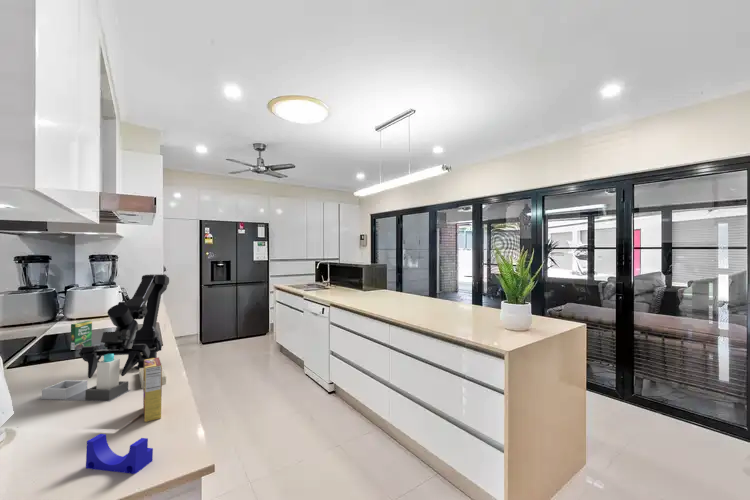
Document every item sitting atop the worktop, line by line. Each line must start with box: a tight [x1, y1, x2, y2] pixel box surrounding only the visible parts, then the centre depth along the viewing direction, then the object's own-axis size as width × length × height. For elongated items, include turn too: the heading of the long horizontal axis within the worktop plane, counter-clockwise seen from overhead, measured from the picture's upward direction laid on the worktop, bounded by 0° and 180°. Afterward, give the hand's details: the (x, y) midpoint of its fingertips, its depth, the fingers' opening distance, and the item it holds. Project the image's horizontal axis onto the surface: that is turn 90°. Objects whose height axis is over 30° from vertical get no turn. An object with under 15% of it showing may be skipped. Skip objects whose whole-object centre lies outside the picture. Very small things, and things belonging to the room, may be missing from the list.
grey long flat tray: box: [36, 379, 132, 403], centre depth 105 cm, size 9×23×4 cm, turn 89°
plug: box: [95, 353, 121, 390], centre depth 106 cm, size 4×4×13 cm
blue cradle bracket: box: [85, 433, 154, 475], centre depth 72 cm, size 12×4×6 cm, turn 82°
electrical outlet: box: [138, 367, 167, 389], centre depth 120 cm, size 7×4×18 cm
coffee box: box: [69, 320, 93, 351], centre depth 159 cm, size 8×3×13 cm, turn 169°
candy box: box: [142, 357, 163, 423], centre depth 95 cm, size 9×4×15 cm, turn 37°
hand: (105, 376), depth 104 cm, fingers open, 9 cm apart
